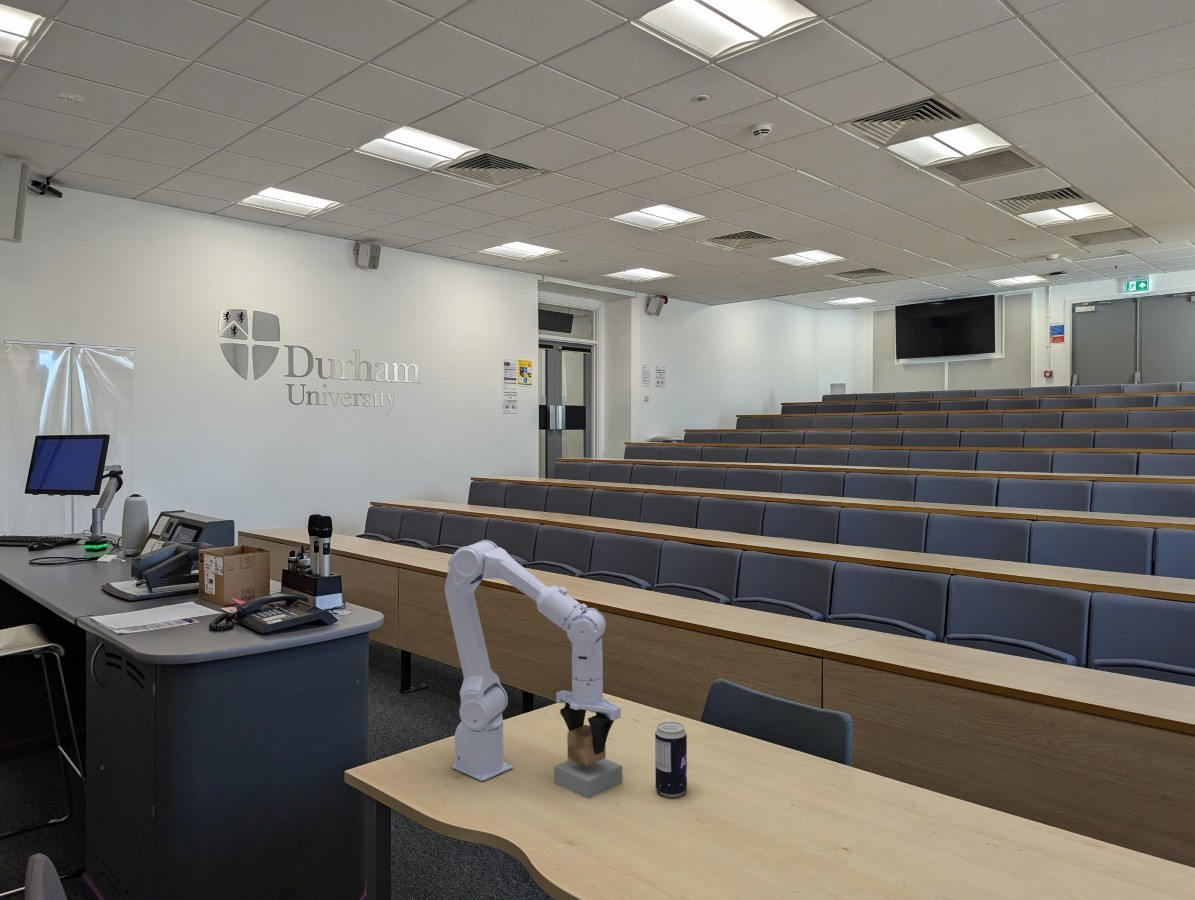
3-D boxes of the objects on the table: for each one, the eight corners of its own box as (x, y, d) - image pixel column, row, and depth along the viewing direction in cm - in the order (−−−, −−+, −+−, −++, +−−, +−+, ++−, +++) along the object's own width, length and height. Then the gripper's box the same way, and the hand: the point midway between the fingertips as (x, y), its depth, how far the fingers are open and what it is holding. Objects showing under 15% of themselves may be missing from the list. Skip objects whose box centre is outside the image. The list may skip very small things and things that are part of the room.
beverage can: (685, 800, 139) (685, 733, 138) (653, 797, 140) (653, 731, 140) (688, 786, 144) (687, 721, 144) (657, 783, 145) (657, 719, 145)
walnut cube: (567, 759, 146) (567, 732, 145) (585, 750, 149) (585, 724, 149) (587, 766, 142) (587, 739, 142) (605, 757, 146) (605, 731, 146)
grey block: (554, 785, 146) (554, 766, 146) (588, 769, 153) (587, 752, 152) (588, 800, 140) (588, 781, 140) (622, 783, 146) (622, 765, 146)
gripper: (544, 673, 147) (545, 744, 148) (602, 690, 138) (603, 766, 138) (570, 664, 153) (571, 733, 153) (627, 680, 143) (628, 753, 143)
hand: (587, 748), depth 146 cm, fingers closed on walnut cube, 5 cm apart
